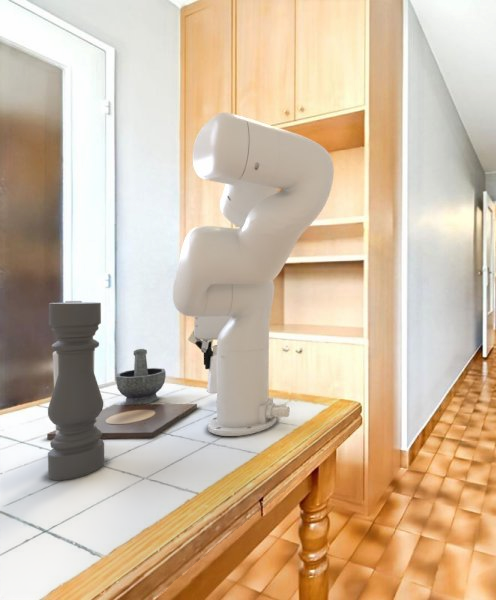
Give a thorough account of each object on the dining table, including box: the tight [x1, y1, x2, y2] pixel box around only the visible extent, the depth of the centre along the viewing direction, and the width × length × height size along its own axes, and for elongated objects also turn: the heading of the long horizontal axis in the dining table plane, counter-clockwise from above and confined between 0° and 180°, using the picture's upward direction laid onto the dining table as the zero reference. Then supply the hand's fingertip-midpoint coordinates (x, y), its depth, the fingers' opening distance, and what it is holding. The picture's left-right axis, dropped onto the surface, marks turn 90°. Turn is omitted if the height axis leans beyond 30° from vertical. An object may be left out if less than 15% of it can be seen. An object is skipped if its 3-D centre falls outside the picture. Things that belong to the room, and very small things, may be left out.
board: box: [46, 403, 198, 440], centre depth 71 cm, size 18×16×1 cm
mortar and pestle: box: [115, 348, 167, 404], centre depth 84 cm, size 11×9×12 cm
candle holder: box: [47, 301, 105, 481], centre depth 52 cm, size 6×6×25 cm
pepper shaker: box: [206, 344, 217, 394], centre depth 85 cm, size 5×5×11 cm
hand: (219, 367), depth 85 cm, fingers closed on pepper shaker, 3 cm apart
